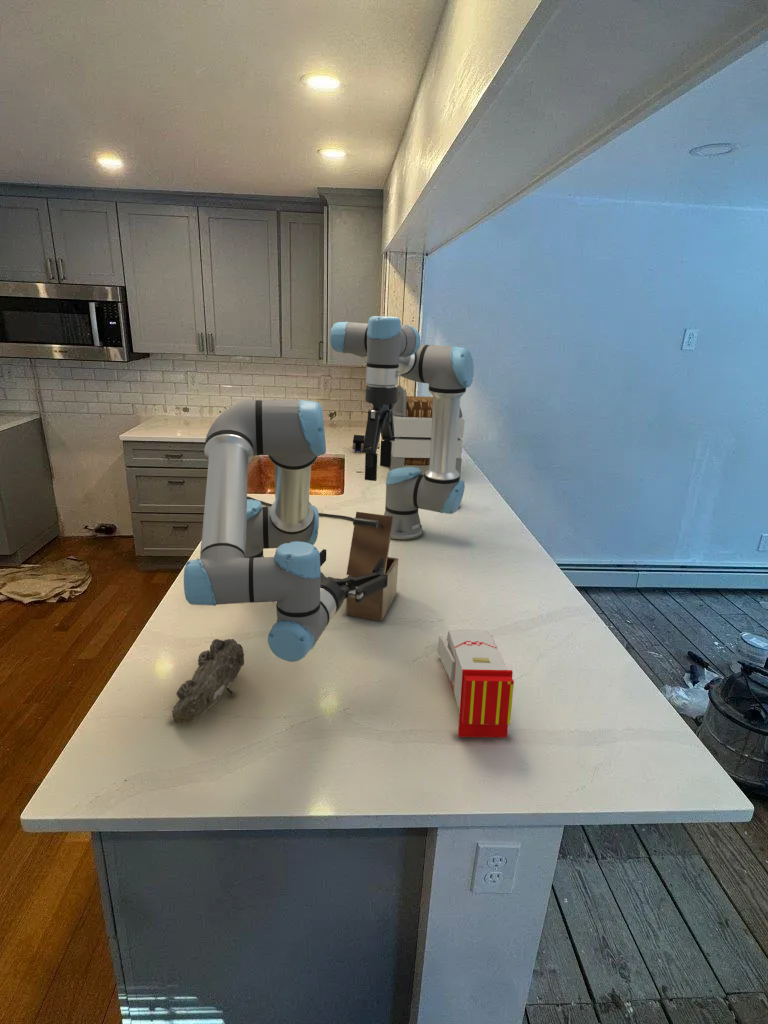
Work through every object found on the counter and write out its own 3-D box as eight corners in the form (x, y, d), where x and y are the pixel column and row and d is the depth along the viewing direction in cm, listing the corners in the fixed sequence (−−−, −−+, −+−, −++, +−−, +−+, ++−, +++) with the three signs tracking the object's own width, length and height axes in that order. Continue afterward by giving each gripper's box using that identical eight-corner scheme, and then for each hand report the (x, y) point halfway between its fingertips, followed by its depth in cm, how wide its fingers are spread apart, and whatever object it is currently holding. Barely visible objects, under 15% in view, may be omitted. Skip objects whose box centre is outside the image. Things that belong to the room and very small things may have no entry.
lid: (357, 512, 144) (347, 507, 135) (393, 516, 142) (386, 512, 133) (347, 574, 143) (337, 574, 134) (384, 580, 140) (375, 580, 132)
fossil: (195, 641, 124) (244, 609, 119) (226, 670, 127) (274, 640, 122) (149, 717, 105) (205, 683, 100) (186, 749, 107) (242, 718, 102)
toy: (488, 613, 130) (523, 677, 101) (484, 667, 133) (517, 744, 104) (435, 612, 130) (455, 676, 101) (432, 666, 133) (451, 743, 103)
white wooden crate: (382, 463, 289) (386, 382, 275) (445, 464, 293) (451, 384, 279) (390, 482, 257) (394, 392, 243) (460, 483, 261) (468, 394, 247)
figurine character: (364, 456, 306) (364, 446, 320) (364, 442, 303) (365, 433, 317) (351, 455, 306) (352, 446, 320) (352, 442, 303) (353, 433, 316)
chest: (363, 588, 160) (365, 553, 157) (396, 593, 158) (398, 558, 154) (346, 614, 146) (347, 577, 142) (381, 621, 144) (383, 583, 140)
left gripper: (260, 609, 113) (301, 565, 132) (380, 631, 107) (405, 582, 126) (258, 575, 110) (301, 536, 130) (382, 596, 104) (407, 552, 124)
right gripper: (383, 393, 121) (379, 488, 128) (408, 381, 144) (404, 462, 151) (349, 391, 123) (347, 484, 130) (380, 379, 145) (377, 459, 152)
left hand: (353, 559), depth 128 cm, fingers open, 13 cm apart
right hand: (378, 472), depth 140 cm, fingers open, 13 cm apart
